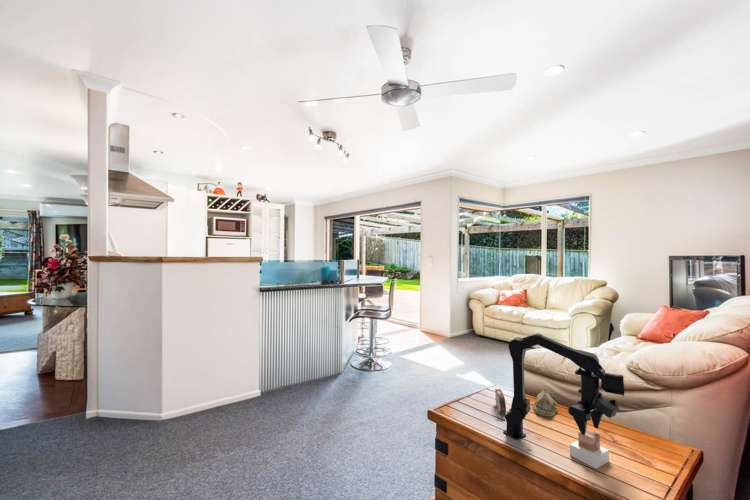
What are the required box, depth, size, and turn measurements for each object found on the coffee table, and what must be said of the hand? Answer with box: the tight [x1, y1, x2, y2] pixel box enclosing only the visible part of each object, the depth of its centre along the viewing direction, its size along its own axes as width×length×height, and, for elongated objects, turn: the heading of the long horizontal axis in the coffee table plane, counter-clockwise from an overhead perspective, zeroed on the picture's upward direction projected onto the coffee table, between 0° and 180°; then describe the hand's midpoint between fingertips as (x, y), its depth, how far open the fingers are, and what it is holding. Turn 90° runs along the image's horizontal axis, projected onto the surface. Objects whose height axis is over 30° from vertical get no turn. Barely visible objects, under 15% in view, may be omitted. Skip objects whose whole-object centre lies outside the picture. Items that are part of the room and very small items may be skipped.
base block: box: [569, 440, 610, 470], centre depth 120 cm, size 9×9×4 cm
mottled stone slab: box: [494, 388, 507, 415], centre depth 158 cm, size 15×3×8 cm, turn 168°
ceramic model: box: [532, 388, 559, 417], centre depth 158 cm, size 14×11×10 cm
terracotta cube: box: [577, 428, 601, 452], centre depth 120 cm, size 5×5×5 cm
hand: (589, 431), depth 120 cm, fingers open, 9 cm apart
